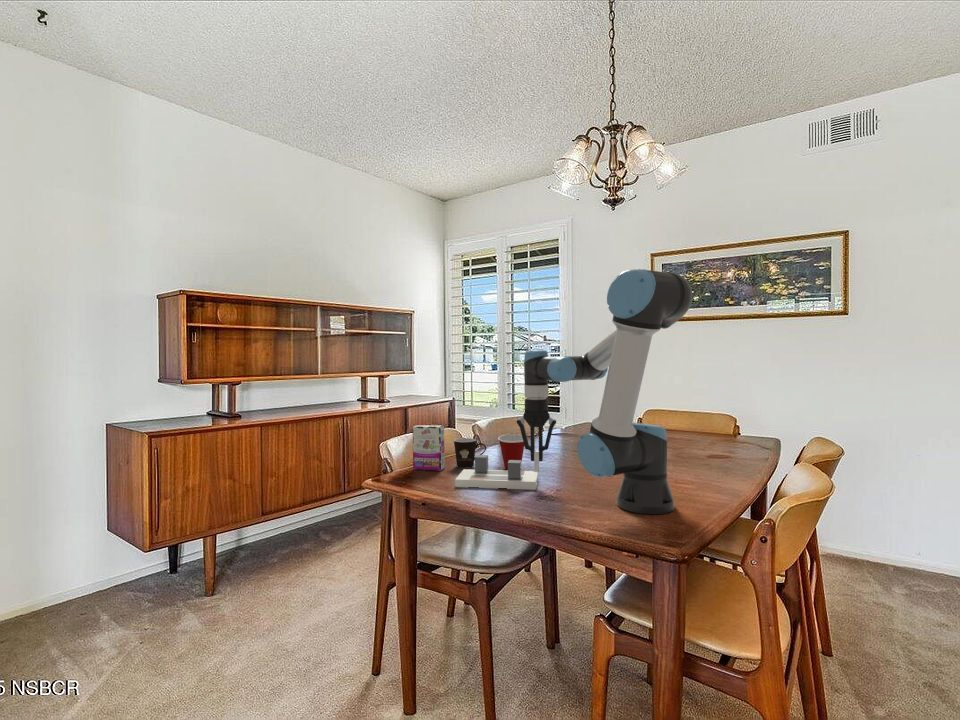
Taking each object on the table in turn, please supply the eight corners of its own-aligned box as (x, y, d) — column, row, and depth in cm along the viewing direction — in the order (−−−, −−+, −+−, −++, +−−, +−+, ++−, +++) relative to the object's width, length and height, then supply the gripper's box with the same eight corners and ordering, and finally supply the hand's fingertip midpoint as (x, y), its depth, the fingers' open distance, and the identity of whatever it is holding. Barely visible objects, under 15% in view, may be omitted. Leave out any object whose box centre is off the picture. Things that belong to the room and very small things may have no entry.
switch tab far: (486, 472, 168) (486, 457, 168) (474, 472, 169) (474, 457, 168) (488, 469, 172) (488, 455, 172) (476, 469, 172) (476, 454, 172)
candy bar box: (445, 468, 187) (444, 425, 187) (441, 471, 182) (440, 426, 182) (417, 467, 190) (416, 424, 190) (412, 470, 185) (411, 426, 185)
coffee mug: (449, 467, 189) (449, 441, 188) (461, 462, 196) (460, 437, 196) (476, 470, 183) (476, 443, 183) (487, 465, 191) (487, 439, 191)
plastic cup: (498, 472, 180) (497, 439, 180) (498, 465, 191) (497, 434, 190) (528, 472, 179) (527, 439, 179) (526, 465, 190) (526, 434, 190)
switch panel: (535, 489, 157) (535, 481, 157) (455, 487, 161) (455, 479, 161) (538, 478, 171) (537, 470, 171) (463, 476, 175) (463, 468, 175)
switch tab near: (520, 478, 159) (520, 463, 159) (507, 478, 160) (507, 462, 160) (521, 475, 163) (521, 460, 163) (509, 475, 164) (509, 460, 164)
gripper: (556, 397, 162) (557, 469, 163) (517, 396, 165) (517, 467, 165) (556, 399, 155) (557, 474, 155) (514, 399, 157) (515, 473, 158)
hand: (536, 471), depth 160 cm, fingers closed
